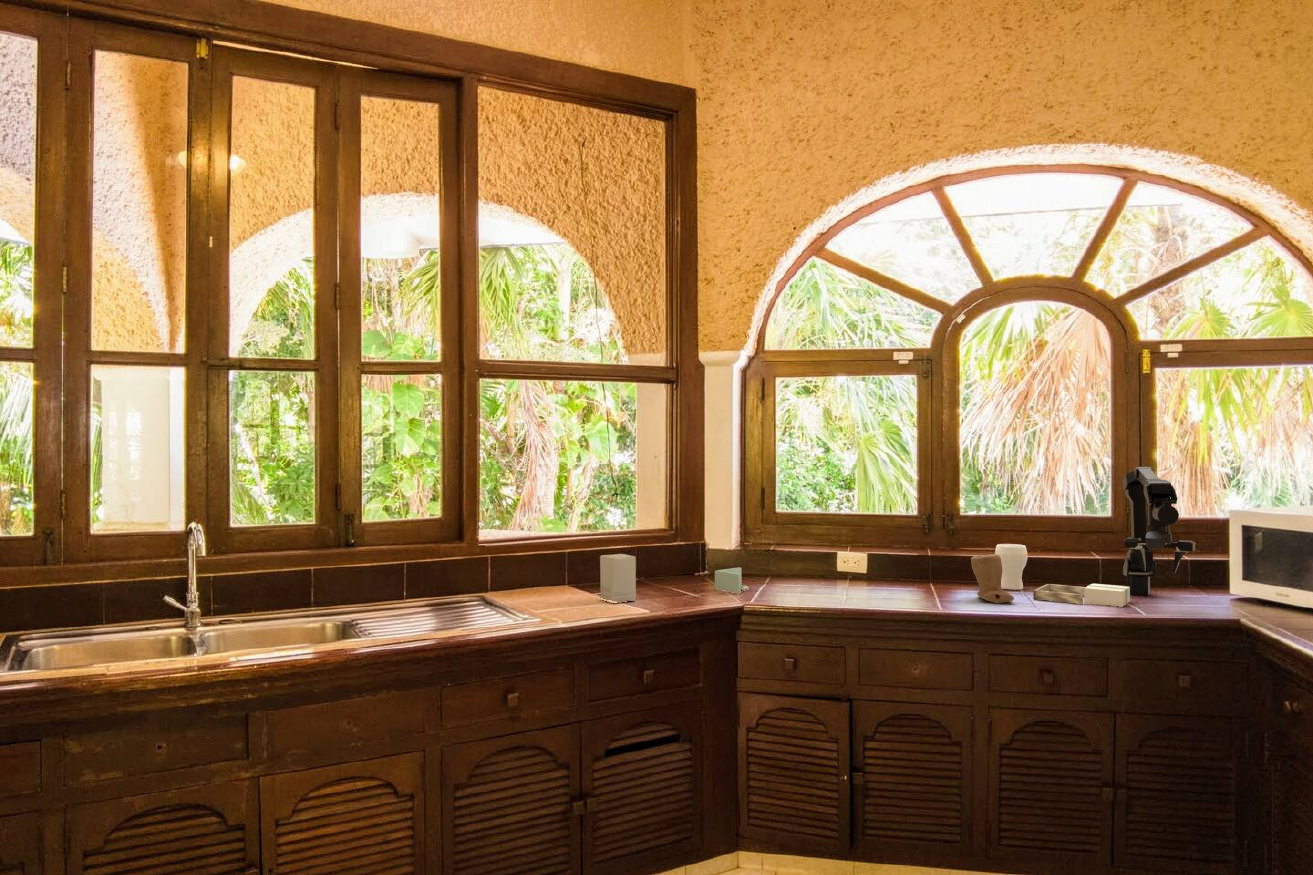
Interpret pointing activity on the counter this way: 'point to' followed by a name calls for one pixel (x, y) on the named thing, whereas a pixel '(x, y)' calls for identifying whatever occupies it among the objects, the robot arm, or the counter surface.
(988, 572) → the brown boot
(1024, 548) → the cup
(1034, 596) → the tan tray
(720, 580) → the sage green wedge block
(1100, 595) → the carton
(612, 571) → the supplement box
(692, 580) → the counter surface
